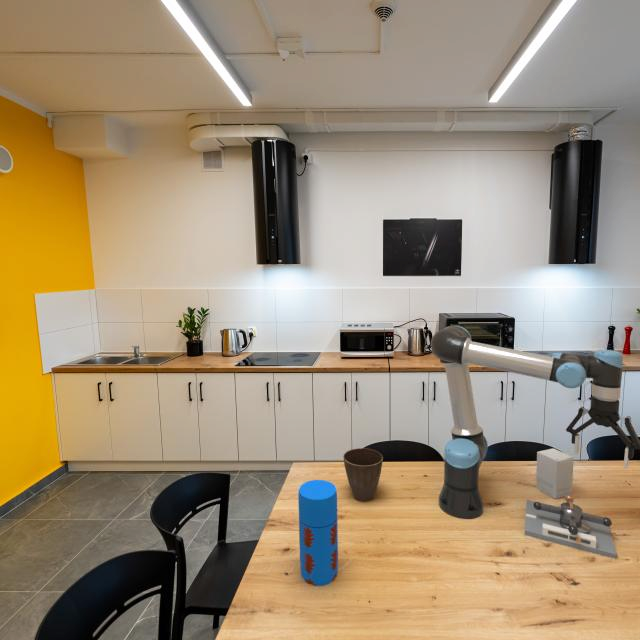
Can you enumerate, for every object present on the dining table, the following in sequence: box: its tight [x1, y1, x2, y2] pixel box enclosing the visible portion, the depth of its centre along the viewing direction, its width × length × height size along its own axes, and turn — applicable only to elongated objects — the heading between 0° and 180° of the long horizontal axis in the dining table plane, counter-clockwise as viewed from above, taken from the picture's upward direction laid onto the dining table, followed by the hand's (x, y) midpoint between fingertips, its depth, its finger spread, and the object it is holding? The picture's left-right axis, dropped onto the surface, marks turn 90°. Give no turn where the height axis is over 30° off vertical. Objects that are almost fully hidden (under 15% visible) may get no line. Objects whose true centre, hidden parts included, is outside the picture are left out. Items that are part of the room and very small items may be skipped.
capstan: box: [533, 495, 613, 535], centre depth 129 cm, size 22×22×6 cm
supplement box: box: [535, 448, 575, 500], centre depth 152 cm, size 9×9×15 cm
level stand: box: [524, 499, 618, 560], centre depth 130 cm, size 24×21×4 cm
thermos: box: [297, 479, 339, 587], centre depth 112 cm, size 11×11×25 cm
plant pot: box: [342, 447, 384, 502], centre depth 151 cm, size 15×15×16 cm
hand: (600, 460), depth 131 cm, fingers open, 13 cm apart
